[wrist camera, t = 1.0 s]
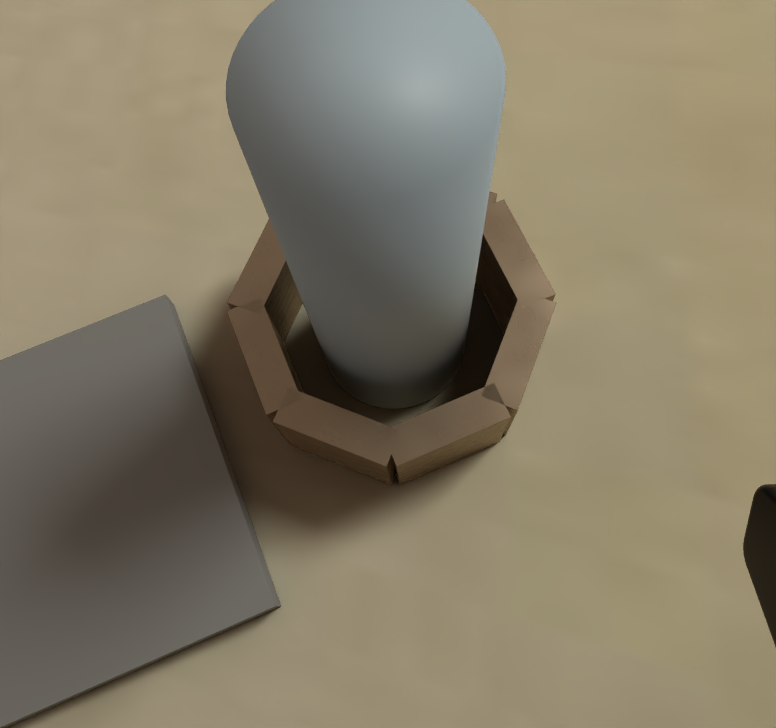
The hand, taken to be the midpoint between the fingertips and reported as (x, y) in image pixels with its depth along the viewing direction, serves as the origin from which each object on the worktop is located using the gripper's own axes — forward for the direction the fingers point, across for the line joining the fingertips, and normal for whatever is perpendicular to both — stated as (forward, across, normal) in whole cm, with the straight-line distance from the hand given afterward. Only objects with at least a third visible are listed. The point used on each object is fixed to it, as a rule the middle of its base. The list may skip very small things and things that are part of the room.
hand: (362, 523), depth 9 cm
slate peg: (+14, 0, +4) cm, 15 cm away
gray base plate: (+10, +10, +8) cm, 16 cm away
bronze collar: (+14, 0, +4) cm, 15 cm away
